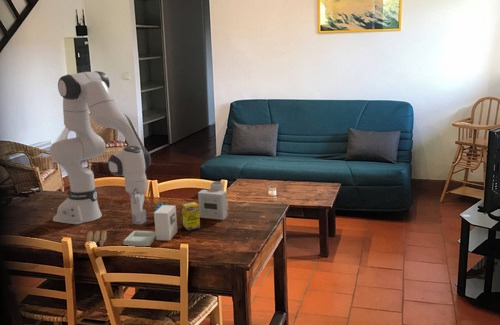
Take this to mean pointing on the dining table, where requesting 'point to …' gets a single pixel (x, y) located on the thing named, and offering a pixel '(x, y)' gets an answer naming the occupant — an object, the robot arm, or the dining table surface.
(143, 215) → the relay block
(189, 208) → the supplement box
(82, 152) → the robot arm
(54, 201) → the dining table surface
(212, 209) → the thermostat
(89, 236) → the ammunition
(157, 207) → the gear
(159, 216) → the box
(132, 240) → the tray
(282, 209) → the dining table surface
